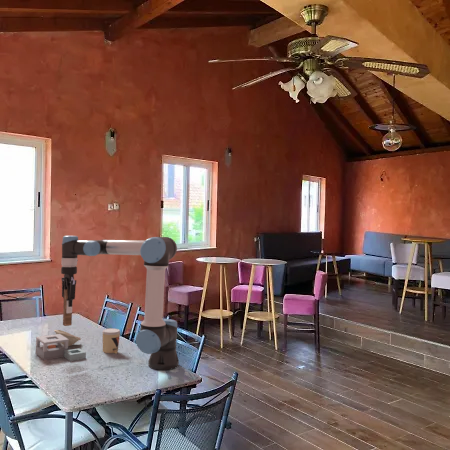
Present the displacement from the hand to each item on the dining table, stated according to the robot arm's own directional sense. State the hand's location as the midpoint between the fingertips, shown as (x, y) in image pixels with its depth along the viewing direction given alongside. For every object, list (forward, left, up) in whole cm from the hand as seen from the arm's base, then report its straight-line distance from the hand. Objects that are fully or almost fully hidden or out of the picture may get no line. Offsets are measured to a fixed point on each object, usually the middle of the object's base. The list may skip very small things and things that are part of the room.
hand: (67, 312), depth 219 cm
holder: (-4, -3, -23) cm, 24 cm away
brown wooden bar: (0, 0, -7) cm, 7 cm away
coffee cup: (-3, -23, -24) cm, 33 cm away
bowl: (+19, -8, -24) cm, 31 cm away
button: (+6, +5, -23) cm, 24 cm away
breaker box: (+6, +5, -23) cm, 25 cm away
